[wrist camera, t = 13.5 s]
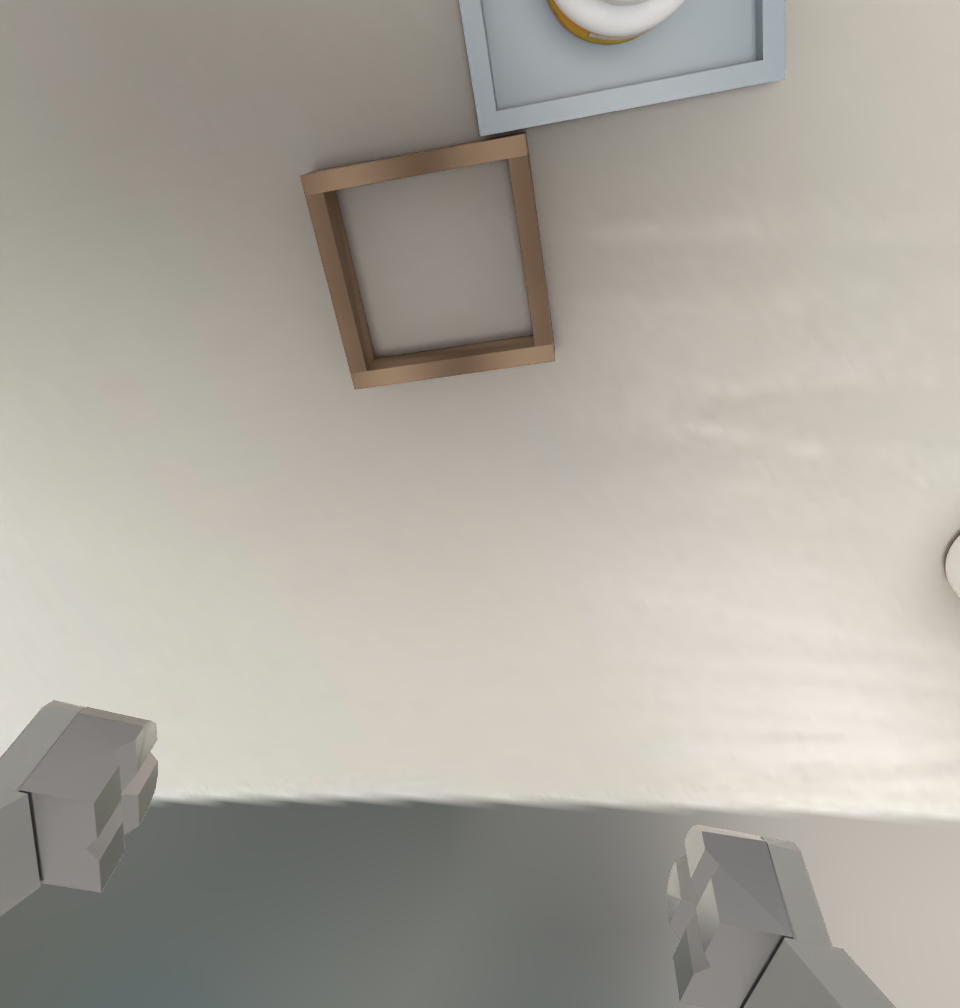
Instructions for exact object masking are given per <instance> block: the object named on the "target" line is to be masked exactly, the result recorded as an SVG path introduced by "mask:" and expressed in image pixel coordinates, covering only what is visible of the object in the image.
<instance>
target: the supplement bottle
mask: <svg viewBox="0 0 960 1008" xmlns="http://www.w3.org/2000/svg"><path fill="white" fill-rule="evenodd" d="M684 2H685V0H547V3H548V5H549V7H550V9H551V11H552V13H553V14H554V16H555V17H556V19H557V20H558V21H559V22H560V24H561V25H562V26H563V27H564V28H565V29H566V30H567V31H569V32H570V33H571V34H572V35H574V36H576V37H577V38H579V39H581V40H584V41H586V42H590V43H593V44H600V45H614V44H620V43H624V42H628V41H631V40H633V39H635V38H637V37H639V36H641V35H643V34H645V33H646V32H647V31H649V30H651V29H652V28H654V27H655V26H657V25H658V24H660V23H661V22H663V21H664V20H666V19H667V18H668V17H670V16H671V15H672V14H673V13H674V12H675V11H676V10H677V9H678V8H679V7H680V6H681V5H682V4H683V3H684Z"/></svg>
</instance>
